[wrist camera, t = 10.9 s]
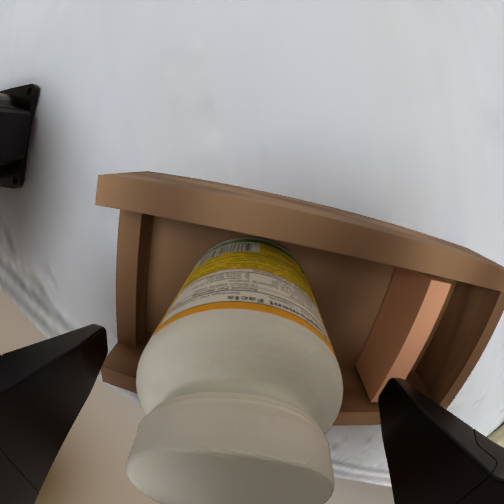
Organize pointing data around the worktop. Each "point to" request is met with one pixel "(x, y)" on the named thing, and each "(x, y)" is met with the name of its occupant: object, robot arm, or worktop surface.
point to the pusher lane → (313, 264)
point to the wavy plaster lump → (498, 436)
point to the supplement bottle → (238, 386)
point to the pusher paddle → (401, 328)
